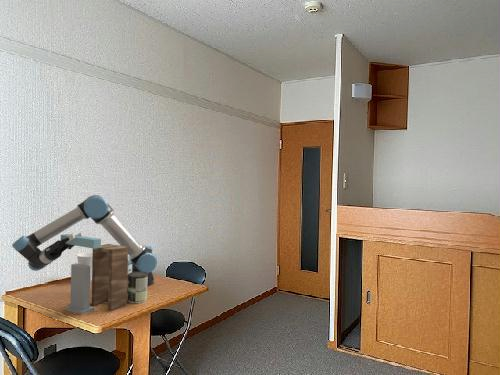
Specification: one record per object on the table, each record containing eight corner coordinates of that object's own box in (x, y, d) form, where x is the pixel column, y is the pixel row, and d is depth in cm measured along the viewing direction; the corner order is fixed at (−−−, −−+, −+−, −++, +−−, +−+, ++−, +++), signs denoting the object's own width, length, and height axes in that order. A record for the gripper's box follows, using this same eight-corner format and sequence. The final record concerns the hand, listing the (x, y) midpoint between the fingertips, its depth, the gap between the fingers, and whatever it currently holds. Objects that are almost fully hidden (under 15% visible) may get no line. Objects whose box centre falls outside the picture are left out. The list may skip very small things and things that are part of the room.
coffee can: (125, 303, 193) (125, 276, 193) (129, 297, 204) (130, 271, 203) (145, 303, 194) (146, 276, 194) (148, 297, 205) (149, 271, 204)
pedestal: (65, 309, 181) (66, 264, 181) (77, 305, 187) (78, 262, 187) (81, 314, 176) (82, 268, 175) (94, 310, 182) (95, 265, 181)
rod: (60, 242, 185) (60, 234, 185) (67, 241, 188) (67, 234, 188) (93, 248, 174) (93, 240, 174) (100, 247, 177) (101, 239, 177)
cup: (72, 281, 229) (72, 255, 229) (84, 276, 241) (85, 252, 240) (89, 283, 226) (89, 257, 226) (100, 278, 238) (101, 253, 238)
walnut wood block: (91, 305, 188) (92, 246, 187) (107, 300, 197) (108, 243, 196) (111, 311, 182) (112, 249, 181) (126, 305, 190) (128, 246, 190)
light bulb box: (133, 271, 257) (133, 256, 257) (128, 274, 250) (128, 258, 250) (119, 270, 259) (119, 255, 259) (113, 273, 252) (114, 257, 252)
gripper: (68, 257, 198) (95, 240, 189) (36, 263, 183) (64, 244, 173) (63, 244, 200) (90, 226, 190) (32, 249, 185) (59, 229, 175)
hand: (77, 235), depth 182 cm, fingers closed on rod, 4 cm apart
